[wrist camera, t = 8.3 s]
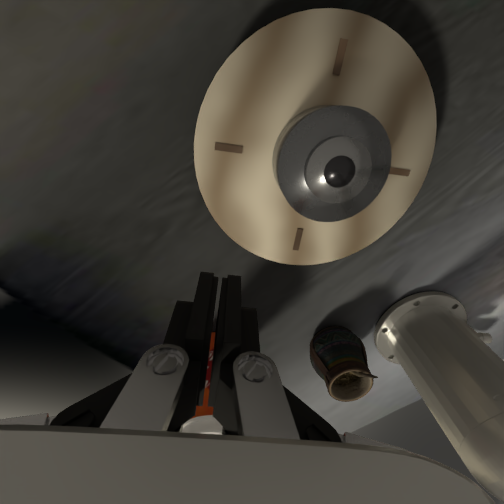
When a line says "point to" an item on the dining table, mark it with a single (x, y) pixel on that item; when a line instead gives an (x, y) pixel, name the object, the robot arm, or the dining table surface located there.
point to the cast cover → (331, 161)
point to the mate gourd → (341, 363)
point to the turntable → (294, 102)
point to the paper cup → (204, 407)
